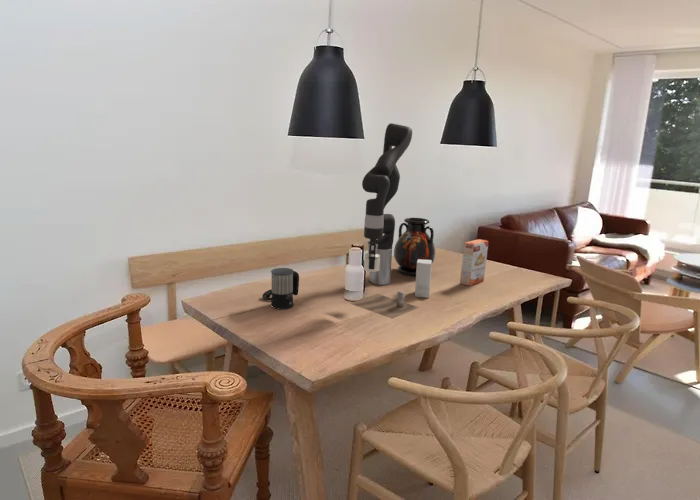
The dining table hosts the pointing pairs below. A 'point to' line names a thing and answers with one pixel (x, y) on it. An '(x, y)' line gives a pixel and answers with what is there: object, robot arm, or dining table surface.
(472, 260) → the cracker box
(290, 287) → the milk frother
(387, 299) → the post board
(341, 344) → the dining table surface
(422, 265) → the skincare box
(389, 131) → the robot arm
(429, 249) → the amphora vase
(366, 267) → the cap
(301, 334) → the dining table surface
